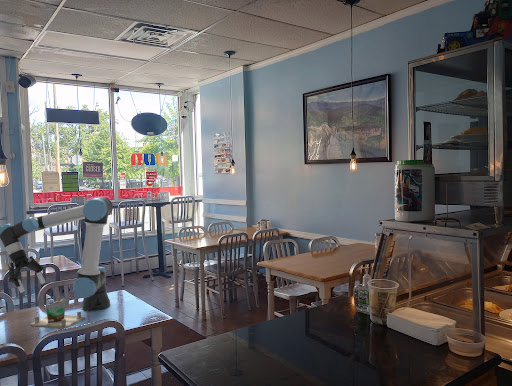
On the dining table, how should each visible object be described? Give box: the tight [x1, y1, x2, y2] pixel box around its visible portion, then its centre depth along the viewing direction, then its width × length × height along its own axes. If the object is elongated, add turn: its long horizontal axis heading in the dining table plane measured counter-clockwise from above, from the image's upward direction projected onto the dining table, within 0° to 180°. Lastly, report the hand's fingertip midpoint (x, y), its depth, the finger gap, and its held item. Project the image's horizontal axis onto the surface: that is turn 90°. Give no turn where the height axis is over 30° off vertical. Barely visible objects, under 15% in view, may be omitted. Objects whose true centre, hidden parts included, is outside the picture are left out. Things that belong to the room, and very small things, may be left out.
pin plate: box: [30, 311, 86, 330], centre depth 211 cm, size 15×21×4 cm
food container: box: [44, 297, 67, 323], centre depth 211 cm, size 12×6×10 cm, turn 169°
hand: (33, 287), depth 214 cm, fingers open, 13 cm apart
